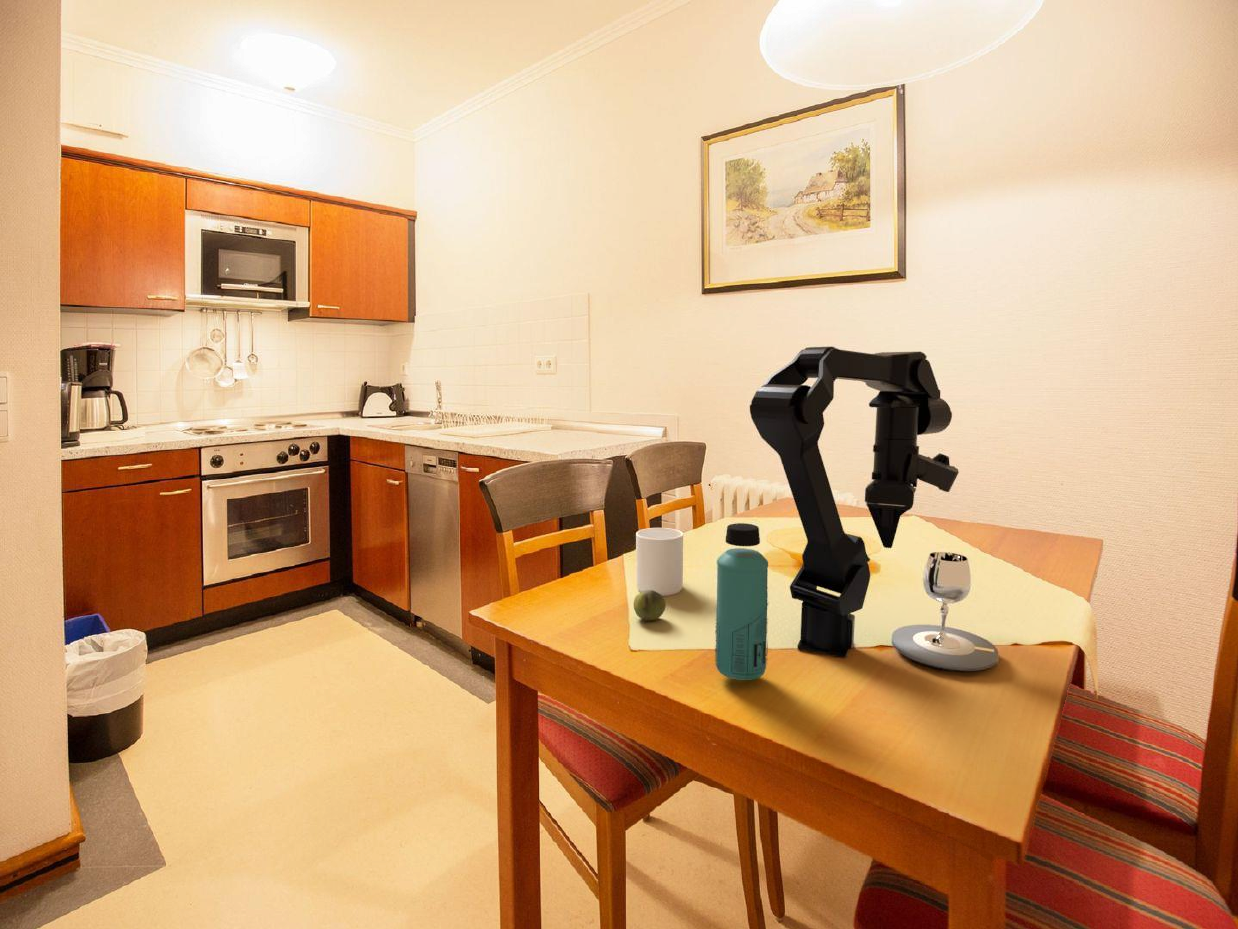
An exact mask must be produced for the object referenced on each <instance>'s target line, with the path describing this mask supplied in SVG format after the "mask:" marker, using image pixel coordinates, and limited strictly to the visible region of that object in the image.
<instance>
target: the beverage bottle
mask: <svg viewBox="0 0 1238 929" xmlns="http://www.w3.org/2000/svg"><path fill="white" fill-rule="evenodd" d="M725 533H726V535H725V543H726V544H728V545H731V546H736V547H737V548H729V549H727V550H726V551H724V552H723V553H722V554H721V555H719V557H717V560H716V565H717V566H716V567H717V568H716V572H717V574H716V580H717V581H716V606H715V607H716V608H715V612H716V613H715V621H716V622H715V633H714V634H715V635H714V637H715V639H714V640H715V644H714V648H715V649H714V652H715V655H714V656H715V658H714V660H715V666H716V669H717V671H718V672H719V673H720V674H721V675H722V676H725V677H727V678H729V679H732V680H733V679H734V680H739V681H750V680H751V681H752V680H755V679H759V678H761V677H762V676H764V674H765V672H766V669H767V664H768V657H767V656H768V651H769V650H768V648H769V645H768V644H769V640H768V635H767V634H768V631H769V630H768V629H769V628H768V624H769V618H768V606H769V604H770V602H769V601H768V600H769V599H770V598H769V593H770V592H769V590H768V589H769V587H768V578H769V577H768V574H769V573H768V569H769V568H768V567H769V561H768V559H767V558H766V557H765V556H764V555H762V553H760V552H759V550H755V549H752V548H743V547H755V546H758V545H759V544H761V538H760V527H759V526H758V525H756V524H752V523H743V522H741V523H739V522H736V523H730V524H728V525H727V527H726V532H725ZM738 547H740V548H738ZM768 592H769V593H768ZM768 598H769V599H768Z"/></svg>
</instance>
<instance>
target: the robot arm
mask: <svg viewBox="0 0 1238 929" xmlns="http://www.w3.org/2000/svg"><path fill="white" fill-rule="evenodd" d="M808 379H816V381H815V382H814V383H813V384H812V386H810V385H806V384H804V383H806V382H807V381H808ZM836 380H845V381H854V382H855V381H858V382H862V383H865V385H866V387H868V388H871V389H873V390H876V391H879V392H878V394H877V395H876V396H875V397H874V398H872V399H871V400H870V401H869V403H868V406H869V408H876V412H875V413H876V414H875V435H874V436H875V437H874V444H873V447H872V452H873V453H874V454H873V471H872V472H871V480H872V481H871V482H870V483H869V484H866V485H867V486H866V487H865V490H864V491H865V493H864V502H865V503H866V507H867V509H868V511H869V513H870V515H871V518H872V520H873V523H874V526H875V528H876V532H877V533H878V537H879V539H880V541H881V543H882V544H881V545H882V546H883V548H884V549H892V548H893V544H894V541H895V537H896V534H897V530H898V527H899V523H900V518H901V516H902V515H903V514H905V513H906V512H907V511H910V510H911V509H912V508H913V506H914V501H915V492H916V490H917V487H918V480H919V481H921V482H924V483H927V484H929V485H931V486H933V487H936V488H938V490H940V491H942V492H946V493H950V491H951V489H952V487H953V485H954V482H955V481H956V479H957V477H958V475H959V472H960V471H959V469H958V468H957V467H956V466H954V465H950V464H951V463H950V456H947V455H945V454H943V453H939V452H938V453H937V454H936V455H935V456H933V457H930V456H925V455H923V454H920V452H919V451H920V446H919V445H918V436H921V435H922V436H923V435H929V434H930V435H931V434H937V433H938V434H939V433H941V432H943V431H945V430H946V429H947V428H948V427H949V426H950V423H951V421H952V418H953V412H952V411H951V407H950V406H949V403H948V402H947V401H946V400H945V399H943V398H941V390H940V388H939V385H938V383H937V381H936V377H935V374H934V372H933V368H932V366H931V363H930V361H929V360H928V359H927V355H926V354H925V353H924V352H922V351H886V352H885V351H884V352H875V353H867V352H860V351H853V350H846V349H839V348H837V347H835V346H811V347H810V346H808V347H805V348H804V349H801V350H800V351H799V352H798V353H797V354H796V356H794V358H793V359H792V361H790V362H789V363H787V364H786V365H784V366H783V367H781V368H780V369H778V370H777V371H776V372H774V373H773V374H771V375H769V377H767V379H766V380H765V381H764V383H763V384H762V385H761V386H760V387H759V388H758V389H757V390H756V392H755V394H754V396H753V398H752V399H751V403H750V404H749V413H750V418H751V420H752V422H753V424H754V427H755V428H756V429H757V432H758V434H759V435H760V438H761V439H762V440H763V441H765V443H766V444H767V445H769V446H770V447H771V448H772V449H773V450H774V451H775V453H777V454H778V456H779V458H780V462H781V464H782V465H781V466H782V467H783V471H784V473H785V476H786V480H787V483H788V485H789V488H790V491H791V495H792V497H793V500H794V504H795V506H796V509H797V513H798V515H799V519H800V521H801V525H802V528H803V531H804V534H805V536H806V537H805V538H806V540H807V541H806V544H805V548H804V550H803V552H802V554H801V555H802V556H801V559H802V566H801V567H800V569H799V570H798V572H797V573H796V576H794V578H793V580H792V582H791V583H790V585H789V590H790V594H791V599H792V600H793V599H794V600H798V601H801V602H802V603H801V613H800V614H801V615H800V617H801V618H800V639H799V641H798V643H797V645H796V646H797V647H796V648H797V649H798V650H800V651H806V652H812V653H816V654H821V655H827V656H833V657H839V658H847V656H848V652H849V650H851V649H852V648H853V646H854V645H853V644H854V641H855V640H854V638H855V622H856V619H855V618H856V617H855V614H853V613H855V612H858V611H860V610H862V609H863V606H864V604H865V600H866V596H867V591H868V588H869V584H870V581H871V570H870V564H869V563H868V562H870V561H871V558H870V556H868V554H867V550H866V544H865V541H864V540H863V538H862V537H861V536H858V535H853V534H850V533H846V532H845V530H844V527H843V524H842V521H841V517H840V514H839V511H838V508H837V503H836V501H835V497H834V494H833V491H832V487H831V485H830V481H829V477H828V473H827V471H826V467H825V464H824V461H823V458H822V454H821V451H820V447H819V443H818V442H819V440H820V437H821V434H822V432H823V429H824V426H825V420H824V419H825V418H824V413H825V411H826V410H827V408H828V407H829V405H830V404H831V403H832V401H833V400H834V397H835V396H834V395H835V394H834V393H835V391H834V389H835V388H834V387H835V385H834V384H835V381H836ZM818 587H819V588H821V589H824V590H827V591H831V592H834V593H838V594H839V596H838V595H836V594H832V593H830V592H827V591H823V590H820V589H817V588H818Z"/></svg>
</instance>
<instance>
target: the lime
mask: <svg viewBox="0 0 1238 929" xmlns="http://www.w3.org/2000/svg"><path fill="white" fill-rule="evenodd" d="M666 603H667V602H666V599H665V598H664V596H662V595H661V594H659V593H657V592H656V591H653V590H645V591H642V592H639V593H638V594H637V595H636V596H635V597H634V599H633V609H634V612H635V614H636V616H637V617H638V618H640V619H642V620H644V621H647V622H649V621H656V620H657V619H658V618H659V619H660V618H661V617H662V615H663V614H664V612H665V610H666V606H667V604H666Z"/></svg>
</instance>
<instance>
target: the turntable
mask: <svg viewBox="0 0 1238 929" xmlns="http://www.w3.org/2000/svg"><path fill="white" fill-rule="evenodd" d="M940 631H941V625H936V624H911V625H910V624H909V625H904V626H901V627H898V628H897V629H895V630H894V631H893V632H892V634H891V645H892V646H893V648H894V649H895V650H896V651H897V652H898V653H900V654H901V655H903V656H905V657H906V658H909V659H911V660H912V661H914V660H915V662H916V661H918V662H920V663H919V664H921V663H923V664H927V665H930V666H934V667H939V668H944V669H950V670H961V671H965V672H972V671H982V670H987V669H989V668H993V667H994V666H995V665H997V663H998V661H999V650H998V648H997V647H996V645H995V644H993V643H992V642H990V641H989V640H987V639H986V638H983V637H981V636H980V635H977V634H974V633H972V632H969V631H965V630H964V629H963V630H962V629H959V628H954V627H950V626H945V633H946V635H947V636H949V637H952V638H955V639H956V640H958V641H959V642H960V646H959V647H957V648H941V647H936V646H933V645H931V644H929V643H927V642H926V641H925V640H924V637H925V636H927V635H931V634H939V633H940ZM918 662H917V663H918ZM923 664H922V665H923Z"/></svg>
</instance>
